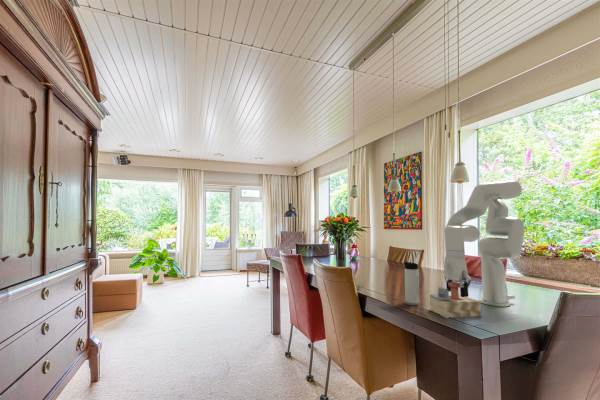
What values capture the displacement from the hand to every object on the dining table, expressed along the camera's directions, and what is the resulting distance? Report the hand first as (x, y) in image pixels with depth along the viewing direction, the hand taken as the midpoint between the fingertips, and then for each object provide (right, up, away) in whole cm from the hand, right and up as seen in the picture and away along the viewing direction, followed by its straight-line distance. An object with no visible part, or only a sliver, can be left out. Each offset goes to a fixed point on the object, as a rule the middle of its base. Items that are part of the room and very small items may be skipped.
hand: (457, 293), depth 129 cm
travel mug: (-15, -9, +13) cm, 22 cm away
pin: (-1, -8, -1) cm, 8 cm away
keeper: (-9, -1, -2) cm, 9 cm away
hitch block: (-2, -8, -1) cm, 8 cm away
